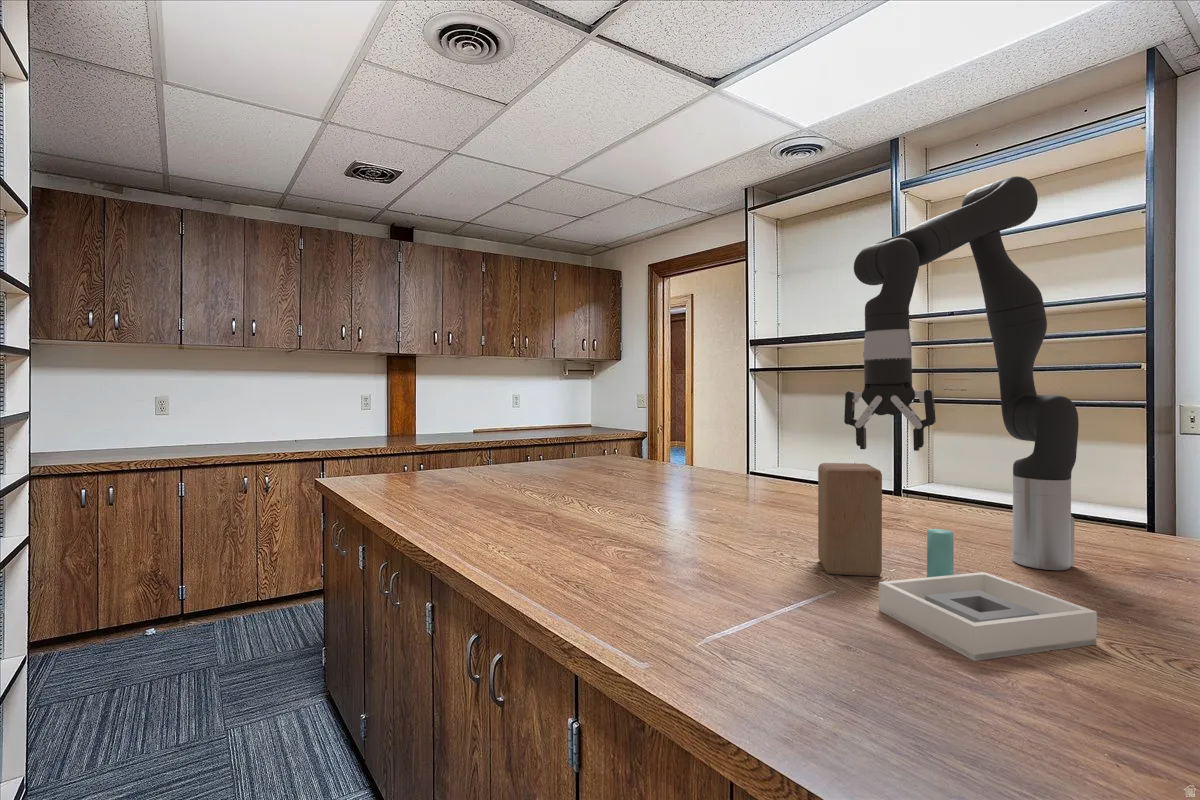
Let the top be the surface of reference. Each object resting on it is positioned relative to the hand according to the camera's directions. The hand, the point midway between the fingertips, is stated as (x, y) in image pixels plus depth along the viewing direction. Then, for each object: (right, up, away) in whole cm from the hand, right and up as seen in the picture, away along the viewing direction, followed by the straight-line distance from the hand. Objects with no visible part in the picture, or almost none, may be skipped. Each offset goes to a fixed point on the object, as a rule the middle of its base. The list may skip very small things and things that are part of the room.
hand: (889, 449), depth 105 cm
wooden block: (-3, -24, +11) cm, 27 cm away
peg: (+8, -24, -1) cm, 26 cm away
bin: (+5, -25, -17) cm, 30 cm away
